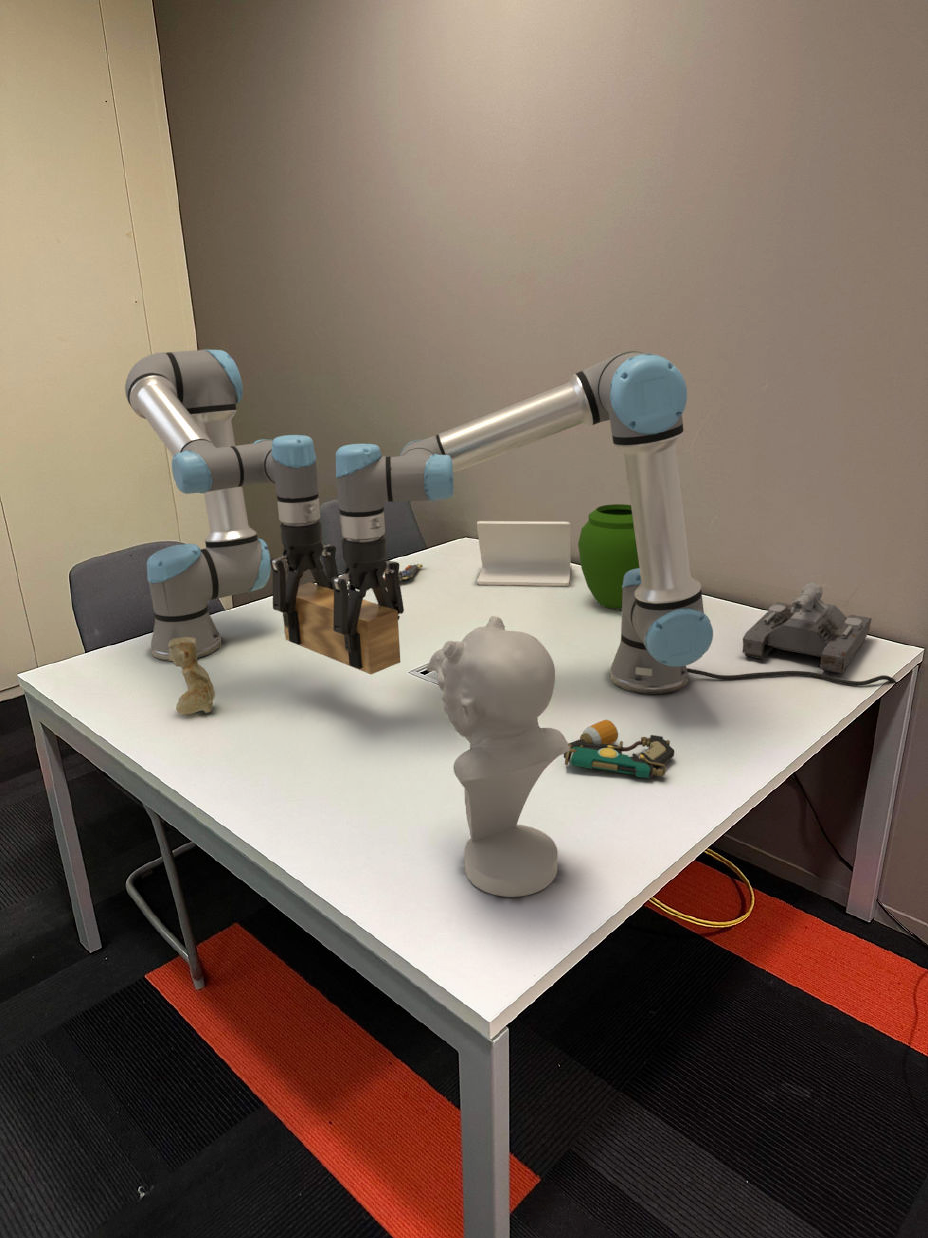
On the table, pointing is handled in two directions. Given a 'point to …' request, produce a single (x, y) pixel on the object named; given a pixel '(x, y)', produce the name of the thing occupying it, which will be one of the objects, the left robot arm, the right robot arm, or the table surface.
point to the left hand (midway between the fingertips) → (311, 636)
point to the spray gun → (618, 752)
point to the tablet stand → (524, 553)
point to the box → (372, 626)
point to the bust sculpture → (501, 751)
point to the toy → (808, 631)
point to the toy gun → (408, 572)
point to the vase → (608, 552)
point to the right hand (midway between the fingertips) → (372, 659)
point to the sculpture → (191, 677)
